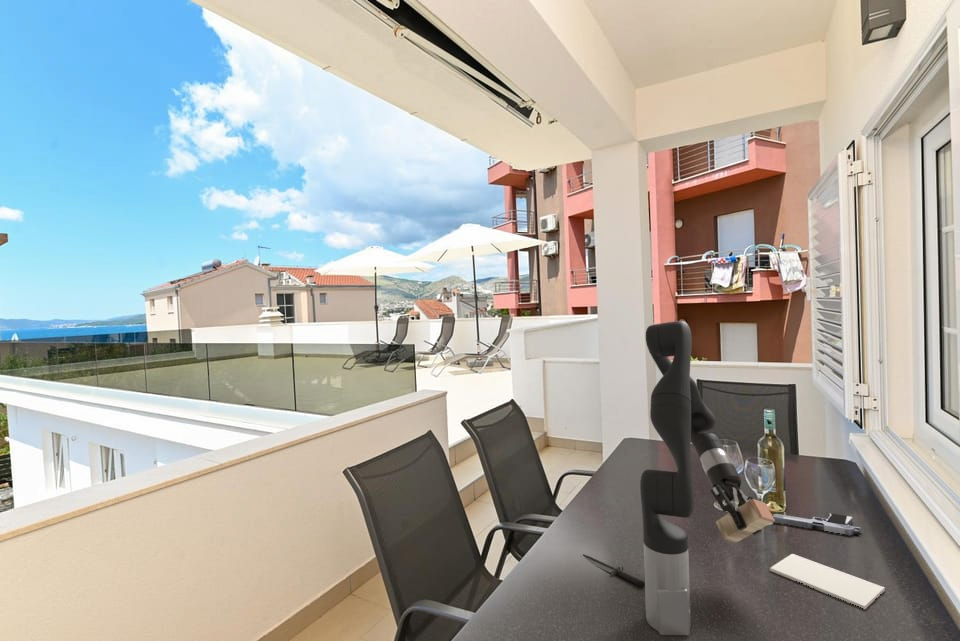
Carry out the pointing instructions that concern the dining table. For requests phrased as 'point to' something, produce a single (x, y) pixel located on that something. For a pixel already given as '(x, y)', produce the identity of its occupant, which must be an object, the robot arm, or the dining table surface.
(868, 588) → the mat
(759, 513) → the maple block
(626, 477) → the dining table surface
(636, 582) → the knife
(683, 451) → the robot arm
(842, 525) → the handgun
